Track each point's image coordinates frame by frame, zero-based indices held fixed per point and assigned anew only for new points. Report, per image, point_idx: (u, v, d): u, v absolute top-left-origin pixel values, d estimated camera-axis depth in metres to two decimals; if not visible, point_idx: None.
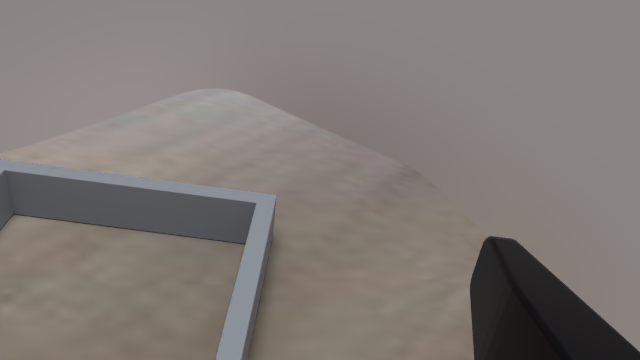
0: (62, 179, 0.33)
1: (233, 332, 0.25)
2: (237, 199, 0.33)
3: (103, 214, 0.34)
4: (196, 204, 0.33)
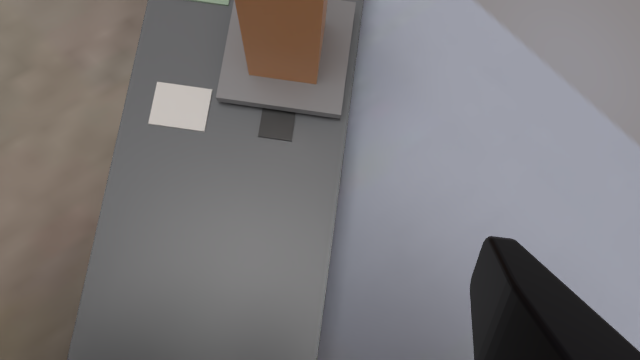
0: None
1: None
2: None
3: None
4: None
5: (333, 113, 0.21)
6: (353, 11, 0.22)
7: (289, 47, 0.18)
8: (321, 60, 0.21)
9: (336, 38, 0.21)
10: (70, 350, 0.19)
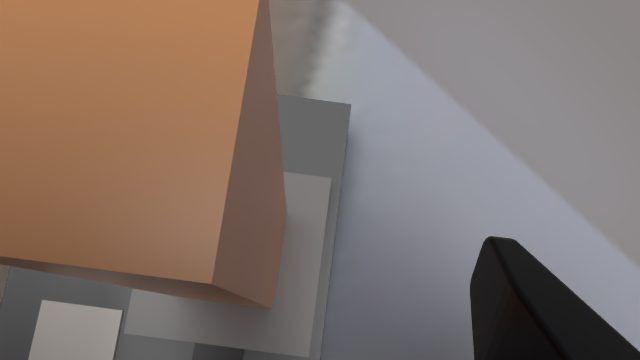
0: None
1: None
2: None
3: None
4: None
5: (297, 355, 0.14)
6: (327, 192, 0.15)
7: (220, 300, 0.12)
8: (280, 270, 0.14)
9: (302, 235, 0.15)
10: None
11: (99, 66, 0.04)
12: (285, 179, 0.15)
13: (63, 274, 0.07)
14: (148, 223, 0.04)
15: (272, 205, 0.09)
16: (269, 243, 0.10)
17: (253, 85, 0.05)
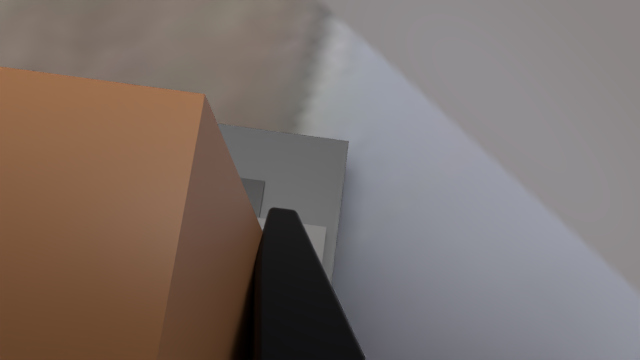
0: None
1: None
2: None
3: None
4: None
5: None
6: (322, 243, 0.13)
7: None
8: None
9: None
10: None
11: None
12: None
13: None
14: None
15: (250, 303, 0.07)
16: (248, 341, 0.08)
17: (192, 265, 0.03)
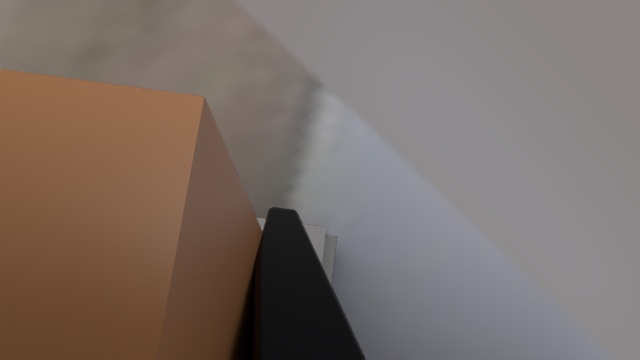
0: None
1: None
2: None
3: None
4: None
5: None
6: (322, 243, 0.13)
7: None
8: None
9: None
10: None
11: None
12: None
13: None
14: None
15: (250, 303, 0.07)
16: (248, 342, 0.08)
17: (191, 267, 0.03)
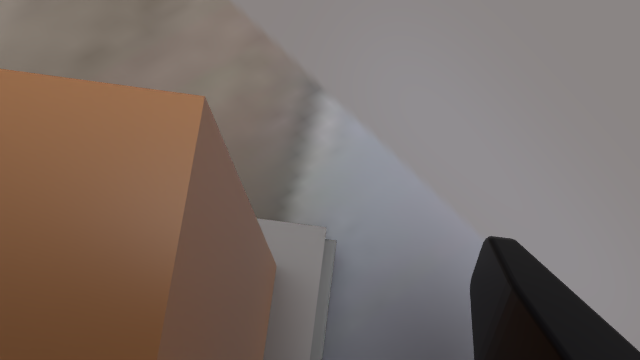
0: None
1: None
2: None
3: None
4: None
5: None
6: (322, 243, 0.13)
7: None
8: (269, 333, 0.13)
9: (294, 292, 0.13)
10: None
11: None
12: (275, 229, 0.13)
13: None
14: None
15: (250, 304, 0.07)
16: (248, 342, 0.08)
17: (192, 267, 0.03)
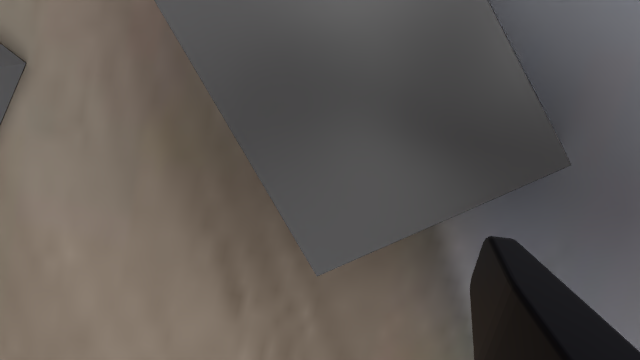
0: None
1: None
2: None
3: None
4: None
5: None
6: None
7: None
8: None
9: None
10: (222, 112, 0.18)
11: None
12: None
13: None
14: None
15: None
16: None
17: None
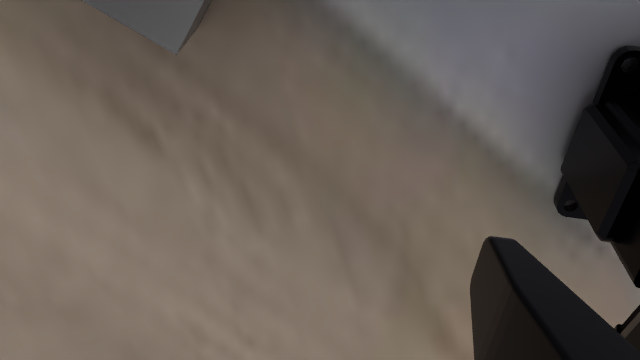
0: None
1: None
2: None
3: None
4: None
5: None
6: None
7: None
8: None
9: None
10: None
11: None
12: None
13: None
14: None
15: None
16: None
17: None
